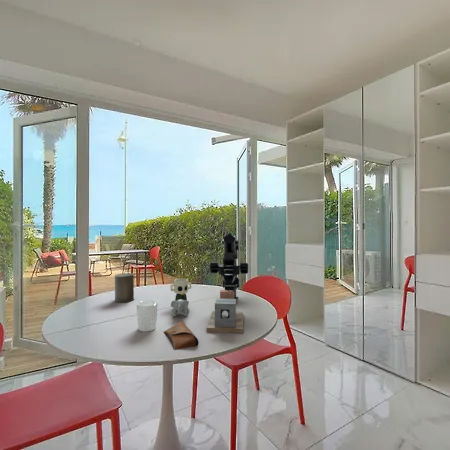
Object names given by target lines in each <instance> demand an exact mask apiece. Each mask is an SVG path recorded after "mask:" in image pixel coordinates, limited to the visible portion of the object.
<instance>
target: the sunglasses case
mask: <svg viewBox="0 0 450 450" xmlns="http://www.w3.org/2000/svg"><path fill="white" fill-rule="evenodd" d="M163 333H164V335H166V337H168V340H169V341H170V343H171V344H172V347H173V349H174V350H175V351H176V350H182V349H188V348H194V347H198V346H199V343H200V342H199V339H198V338H197V337H196V335H195V334H194V332H193V331H192V330H191V329H190V328H189V327H188V326H187V325H186V324H185V323H184V322H183V320H180V321H178V322H177V323H176V324H174V325H173V326H171V327H169V328H167V329H166V330H165V331H163Z"/></svg>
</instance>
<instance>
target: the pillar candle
mask: <svg viewBox="0 0 450 450" xmlns="http://www.w3.org/2000/svg"><path fill="white" fill-rule="evenodd" d="M134 276H135V274H134V273H131V272H130V273H129V272H124V273H123V272H122V273H117V274H115V275H114V302H116V303H128V302H132V301H134V300H135V299H134V298H135V297H134V296H135V291H134V290H135V289H134V288H135V282H134V279H135V277H134Z"/></svg>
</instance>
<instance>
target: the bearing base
mask: <svg viewBox="0 0 450 450" xmlns="http://www.w3.org/2000/svg"><path fill="white" fill-rule="evenodd" d="M222 309H223V310H229V313H228V317H227V318H223V317H222ZM205 328H206V331H205V332H206V333H207V332H208V333H231V332H233V334H234V333H236V334H237V333H238V334H241V333H242V334H244V311H237V298H236V299H220V298H216V299H215V302H214V310H212V311H211V314H210V317H209V320H208V323H207V325H206V327H205Z"/></svg>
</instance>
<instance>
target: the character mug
mask: <svg viewBox="0 0 450 450" xmlns="http://www.w3.org/2000/svg"><path fill="white" fill-rule="evenodd" d="M191 289H192V282H189V279H188V278H176V279H174V280H173V283H172V284H170V291H171V292H174V293H175V294H176V295H175V299H174V300H175V301H178V300H180V299H181V300H187V301H188V298H187V293H188V292H189V290H191Z"/></svg>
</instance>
